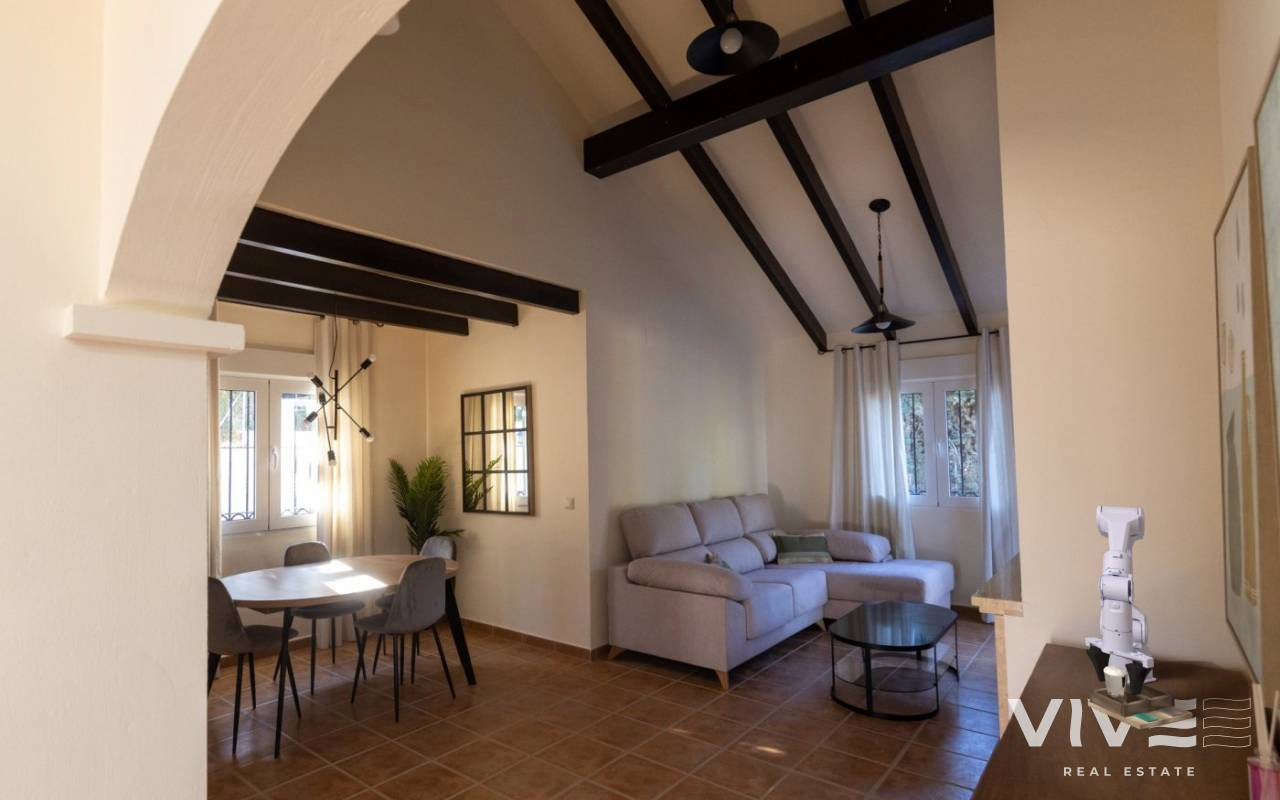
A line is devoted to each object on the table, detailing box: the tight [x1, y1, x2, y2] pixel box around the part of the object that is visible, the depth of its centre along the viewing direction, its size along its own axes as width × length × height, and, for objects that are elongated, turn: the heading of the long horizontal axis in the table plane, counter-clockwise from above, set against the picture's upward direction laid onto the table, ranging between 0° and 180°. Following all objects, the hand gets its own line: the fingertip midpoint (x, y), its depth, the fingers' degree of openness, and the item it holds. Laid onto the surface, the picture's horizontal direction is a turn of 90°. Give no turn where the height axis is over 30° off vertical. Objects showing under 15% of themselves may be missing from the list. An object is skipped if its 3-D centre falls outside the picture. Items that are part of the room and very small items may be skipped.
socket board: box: [1087, 683, 1194, 730], centre depth 151 cm, size 16×12×4 cm
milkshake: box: [1104, 666, 1128, 704], centre depth 151 cm, size 4×5×10 cm
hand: (1119, 687), depth 152 cm, fingers open, 7 cm apart
